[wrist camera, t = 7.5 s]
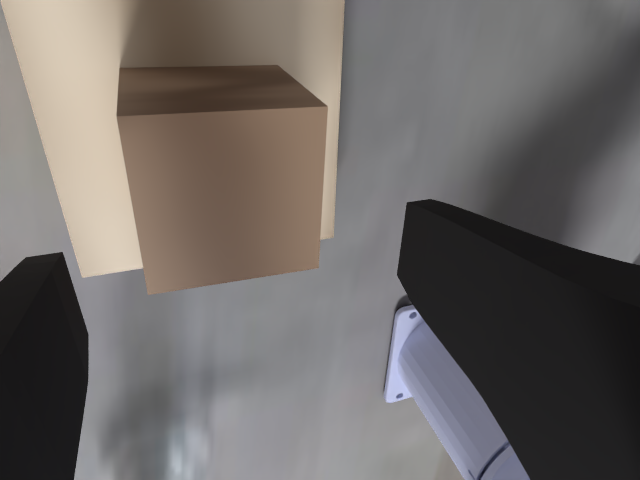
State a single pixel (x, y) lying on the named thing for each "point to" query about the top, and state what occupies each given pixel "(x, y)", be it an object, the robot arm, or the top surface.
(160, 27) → the maple block
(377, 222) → the top surface
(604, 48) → the top surface
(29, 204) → the top surface
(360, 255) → the top surface
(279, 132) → the walnut cube
